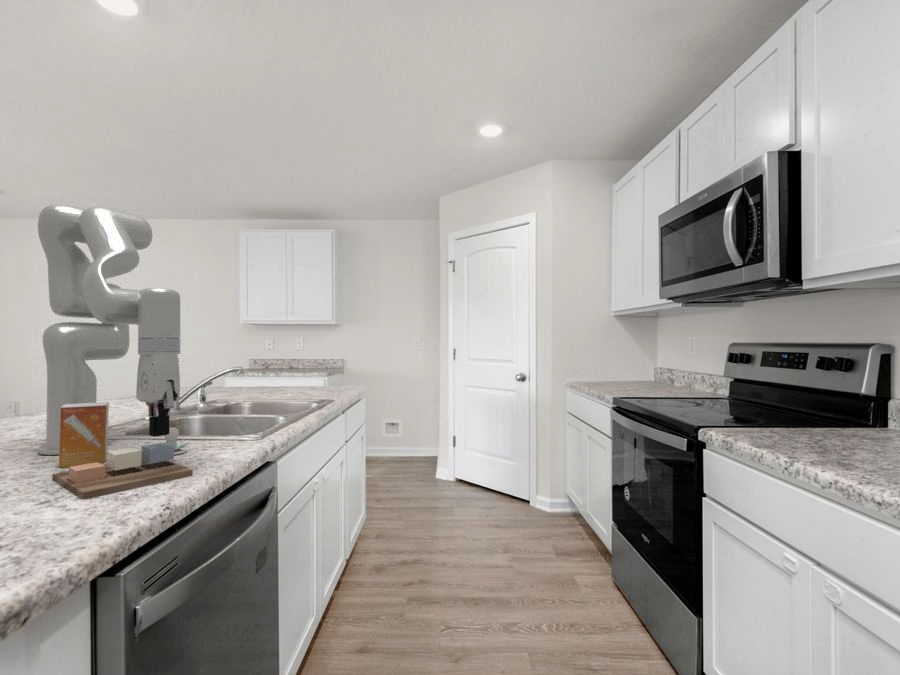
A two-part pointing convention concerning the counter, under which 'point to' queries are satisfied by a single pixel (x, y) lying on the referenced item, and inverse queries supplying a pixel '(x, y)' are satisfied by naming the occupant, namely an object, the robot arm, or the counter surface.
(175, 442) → the pacifier
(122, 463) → the cream cube
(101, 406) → the small box
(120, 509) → the counter surface
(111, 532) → the counter surface
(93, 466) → the pink square block
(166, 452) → the blue cube
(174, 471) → the walnut board
